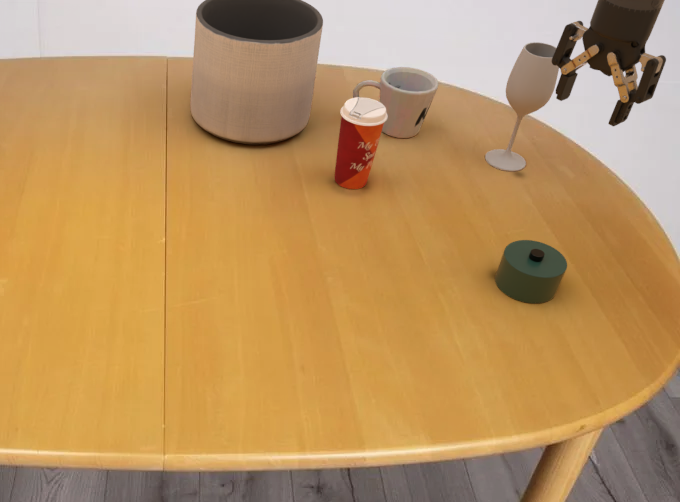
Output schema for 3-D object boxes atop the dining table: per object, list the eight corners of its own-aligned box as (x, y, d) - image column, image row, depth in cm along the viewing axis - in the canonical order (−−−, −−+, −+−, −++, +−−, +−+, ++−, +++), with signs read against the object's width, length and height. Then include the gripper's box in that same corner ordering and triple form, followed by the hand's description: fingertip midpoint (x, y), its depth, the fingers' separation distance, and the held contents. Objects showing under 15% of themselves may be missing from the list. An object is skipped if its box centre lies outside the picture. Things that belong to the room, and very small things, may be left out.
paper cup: (359, 198, 147) (375, 123, 138) (319, 181, 151) (332, 107, 141) (380, 178, 152) (397, 105, 143) (342, 163, 155) (356, 90, 146)
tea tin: (550, 269, 135) (563, 238, 131) (561, 307, 128) (575, 275, 124) (491, 262, 135) (502, 231, 131) (498, 300, 129) (510, 268, 125)
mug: (427, 145, 161) (440, 96, 154) (346, 135, 162) (355, 86, 156) (425, 118, 168) (438, 69, 162) (348, 109, 170) (357, 60, 163)
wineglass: (482, 167, 156) (517, 55, 142) (485, 146, 162) (519, 36, 147) (526, 175, 155) (566, 63, 140) (527, 154, 160) (566, 44, 146)
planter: (209, 82, 176) (215, -19, 162) (319, 102, 171) (335, 1, 158) (174, 135, 160) (177, 29, 147) (294, 159, 156) (309, 52, 142)
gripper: (700, 9, 109) (648, 125, 120) (601, -28, 117) (561, 84, 128) (666, 22, 106) (616, 140, 117) (567, -18, 114) (529, 97, 125)
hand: (587, 111), depth 122 cm, fingers open, 8 cm apart
